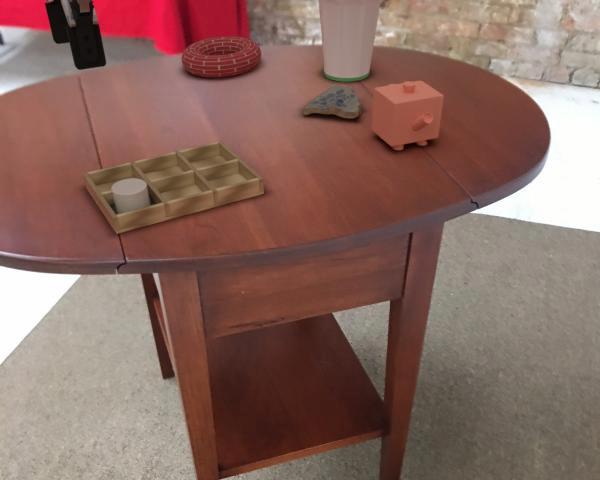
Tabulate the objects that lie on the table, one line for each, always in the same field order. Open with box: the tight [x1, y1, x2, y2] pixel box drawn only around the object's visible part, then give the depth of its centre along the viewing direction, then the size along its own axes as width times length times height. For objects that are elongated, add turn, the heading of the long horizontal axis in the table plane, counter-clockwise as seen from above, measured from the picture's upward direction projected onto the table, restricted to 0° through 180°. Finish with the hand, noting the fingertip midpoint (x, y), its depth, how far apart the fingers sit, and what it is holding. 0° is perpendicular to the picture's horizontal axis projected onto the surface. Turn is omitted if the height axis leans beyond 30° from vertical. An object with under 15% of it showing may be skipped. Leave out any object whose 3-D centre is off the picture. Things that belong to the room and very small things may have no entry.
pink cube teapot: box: [371, 79, 445, 151], centre depth 93 cm, size 8×12×8 cm, turn 21°
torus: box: [181, 36, 262, 78], centre depth 120 cm, size 16×14×4 cm
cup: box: [318, 0, 381, 83], centre depth 112 cm, size 12×12×15 cm
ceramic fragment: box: [302, 84, 363, 119], centre depth 104 cm, size 11×3×10 cm
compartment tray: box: [82, 140, 265, 235], centre depth 85 cm, size 20×14×2 cm
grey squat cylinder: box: [111, 178, 151, 214], centre depth 80 cm, size 4×4×3 cm
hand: (79, 54), depth 69 cm, fingers open, 9 cm apart
